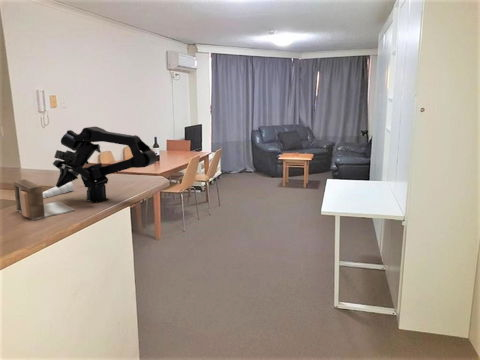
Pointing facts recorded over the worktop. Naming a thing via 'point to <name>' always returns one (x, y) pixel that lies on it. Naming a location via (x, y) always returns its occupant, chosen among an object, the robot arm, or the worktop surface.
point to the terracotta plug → (26, 203)
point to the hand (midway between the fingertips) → (57, 186)
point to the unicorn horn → (58, 190)
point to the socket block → (38, 201)
